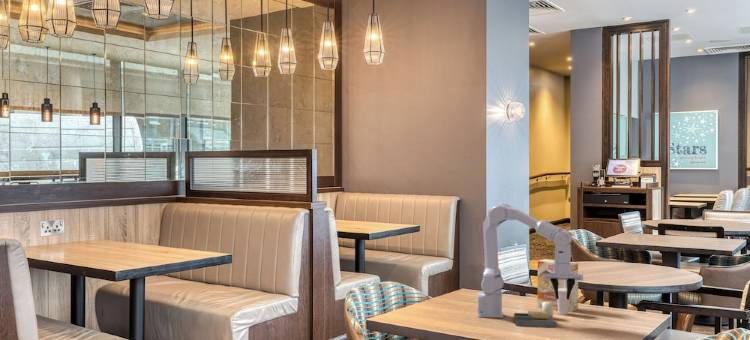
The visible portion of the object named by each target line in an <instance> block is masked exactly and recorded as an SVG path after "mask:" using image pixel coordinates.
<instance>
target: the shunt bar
mask: <svg viewBox="0 0 750 340" xmlns="http://www.w3.org/2000/svg"><path fill="white" fill-rule="evenodd" d="M527 313H528V316H532V319H551V314H550V312H542V311H531V310H529V311H527Z"/></svg>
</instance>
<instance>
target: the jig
mask: <svg viewBox="0 0 750 340" xmlns="http://www.w3.org/2000/svg"><path fill="white" fill-rule="evenodd" d="M513 320H514V325H515V327H538V328H539V327H541V328H544V327H545V328H555V320H554V317H553V318H552V316H551V319H532V316H528V312H527V313H525V312H524V313H523V312H514V313H513Z"/></svg>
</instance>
